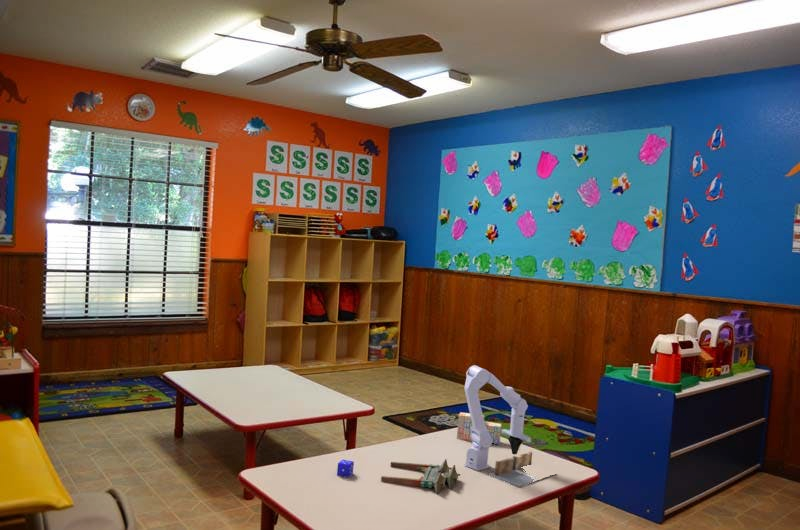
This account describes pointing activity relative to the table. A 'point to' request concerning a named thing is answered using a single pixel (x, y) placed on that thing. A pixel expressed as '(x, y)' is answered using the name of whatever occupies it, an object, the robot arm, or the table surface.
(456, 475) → the miniature gate
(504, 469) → the walnut fence section
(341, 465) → the die
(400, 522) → the table surface
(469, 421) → the stack of blocks
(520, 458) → the oak fence section
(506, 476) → the board
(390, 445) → the table surface
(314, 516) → the table surface
